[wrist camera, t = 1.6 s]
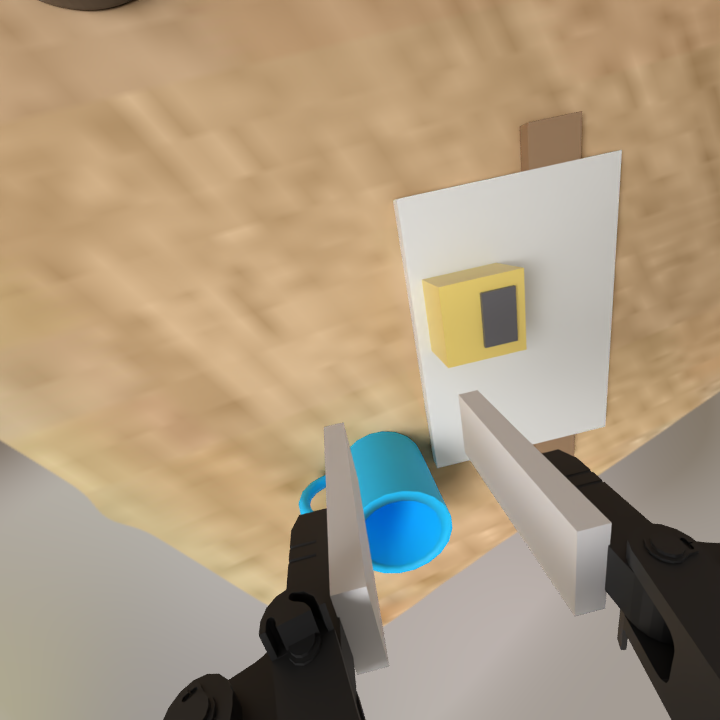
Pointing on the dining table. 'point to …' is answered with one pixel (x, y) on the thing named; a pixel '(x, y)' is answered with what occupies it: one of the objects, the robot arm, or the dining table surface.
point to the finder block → (476, 313)
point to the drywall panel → (542, 286)
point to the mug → (395, 502)
